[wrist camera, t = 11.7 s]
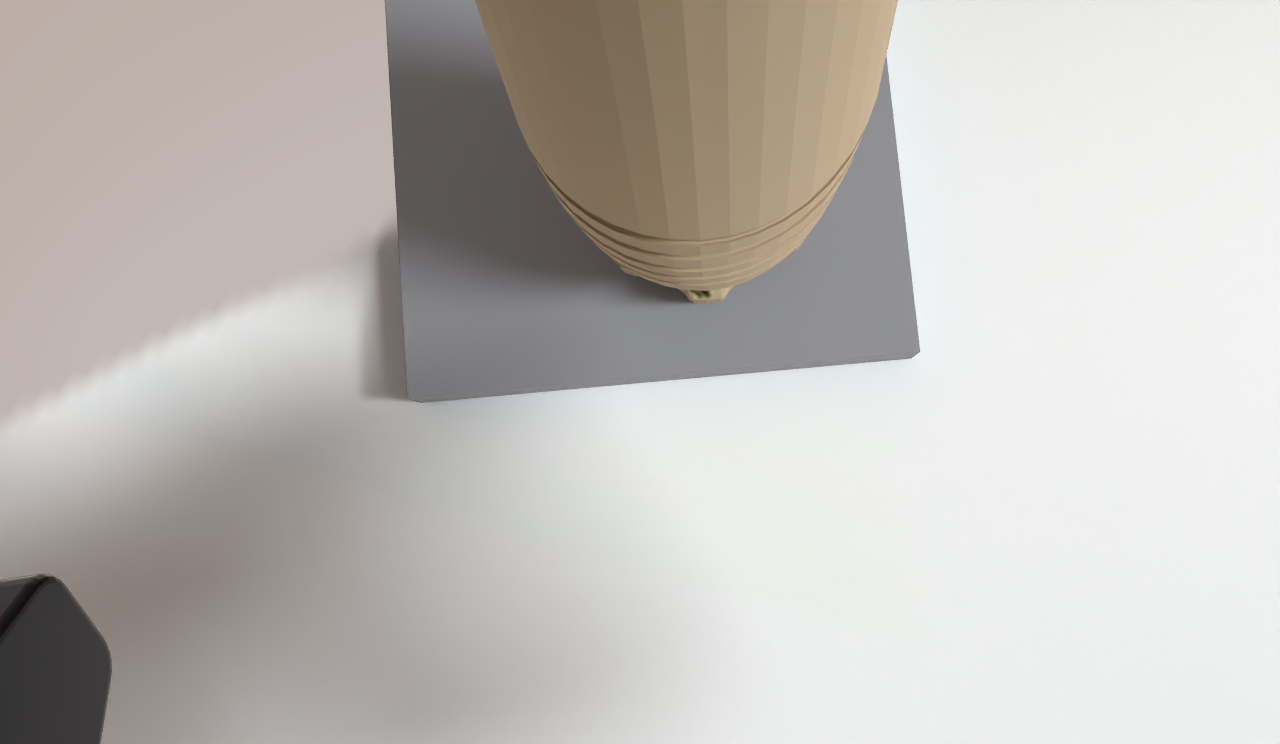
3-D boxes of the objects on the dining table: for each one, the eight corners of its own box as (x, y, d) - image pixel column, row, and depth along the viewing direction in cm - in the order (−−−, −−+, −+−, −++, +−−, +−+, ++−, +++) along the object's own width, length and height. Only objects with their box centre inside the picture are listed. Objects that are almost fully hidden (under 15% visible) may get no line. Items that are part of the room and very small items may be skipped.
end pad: (911, 358, 18) (920, 351, 17) (421, 402, 18) (407, 398, 17) (865, -44, 18) (872, -68, 18) (398, 11, 19) (384, -10, 18)
